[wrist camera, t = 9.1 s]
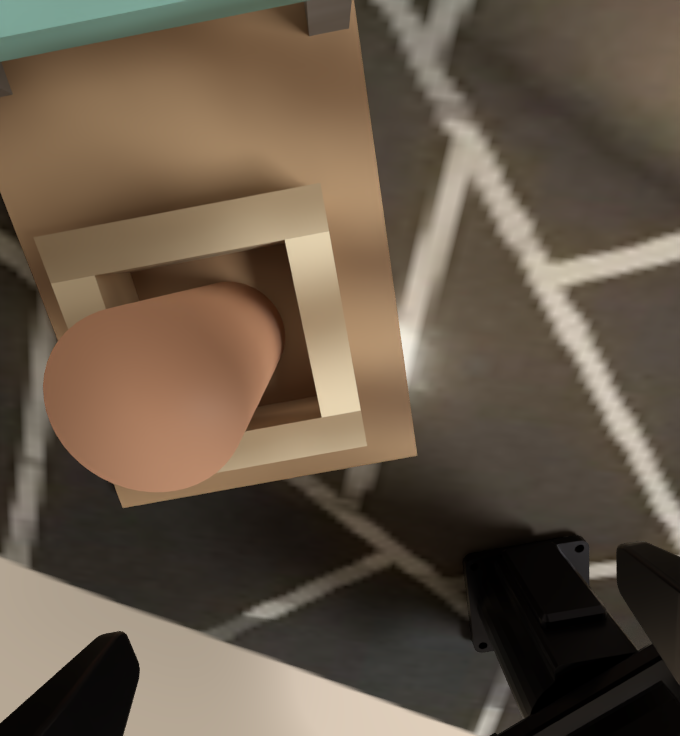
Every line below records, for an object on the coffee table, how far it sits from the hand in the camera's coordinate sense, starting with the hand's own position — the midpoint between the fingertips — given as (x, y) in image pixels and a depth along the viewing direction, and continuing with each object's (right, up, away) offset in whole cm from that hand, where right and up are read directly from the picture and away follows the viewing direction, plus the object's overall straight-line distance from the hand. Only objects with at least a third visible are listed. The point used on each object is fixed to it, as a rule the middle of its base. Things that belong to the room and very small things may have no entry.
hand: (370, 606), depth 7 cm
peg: (-5, +6, +9) cm, 12 cm away
